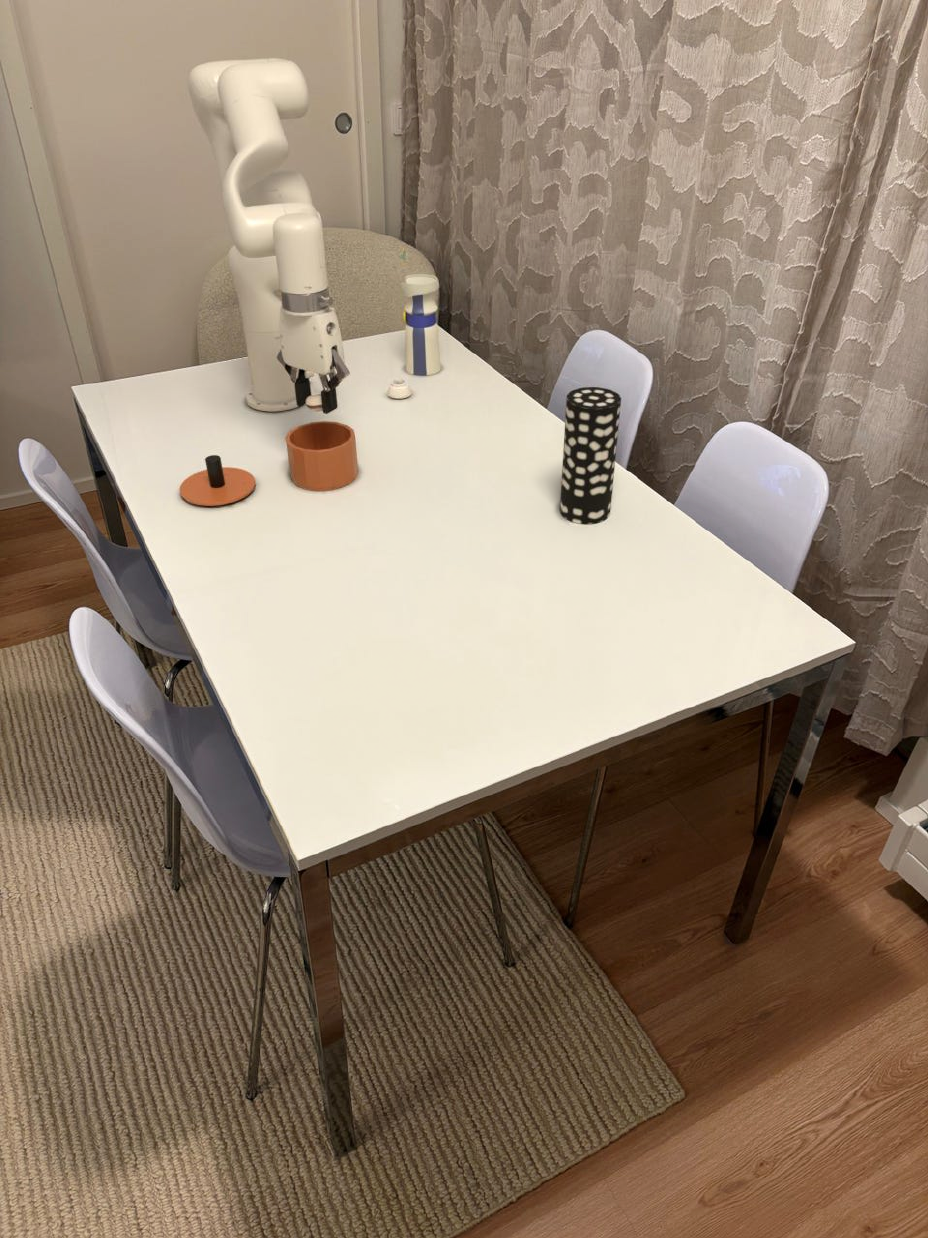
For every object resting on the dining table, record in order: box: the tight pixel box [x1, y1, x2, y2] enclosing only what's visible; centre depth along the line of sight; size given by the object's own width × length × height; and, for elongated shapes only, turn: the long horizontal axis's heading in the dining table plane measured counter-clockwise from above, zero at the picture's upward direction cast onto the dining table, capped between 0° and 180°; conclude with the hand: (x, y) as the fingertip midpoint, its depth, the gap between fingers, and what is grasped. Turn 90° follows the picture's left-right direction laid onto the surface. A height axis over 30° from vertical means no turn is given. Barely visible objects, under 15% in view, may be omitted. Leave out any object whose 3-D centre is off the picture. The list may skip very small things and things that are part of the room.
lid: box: [179, 454, 257, 507], centre depth 160 cm, size 13×13×6 cm
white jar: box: [386, 378, 413, 400], centre depth 193 cm, size 5×3×5 cm
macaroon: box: [305, 393, 323, 413], centre depth 158 cm, size 4×5×2 cm
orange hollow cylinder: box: [285, 420, 359, 492], centre depth 164 cm, size 12×12×8 cm
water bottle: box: [398, 247, 442, 377], centre depth 197 cm, size 8×9×25 cm
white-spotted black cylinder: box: [559, 386, 622, 525], centre depth 149 cm, size 8×8×20 cm
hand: (317, 405), depth 158 cm, fingers closed on macaroon, 5 cm apart
